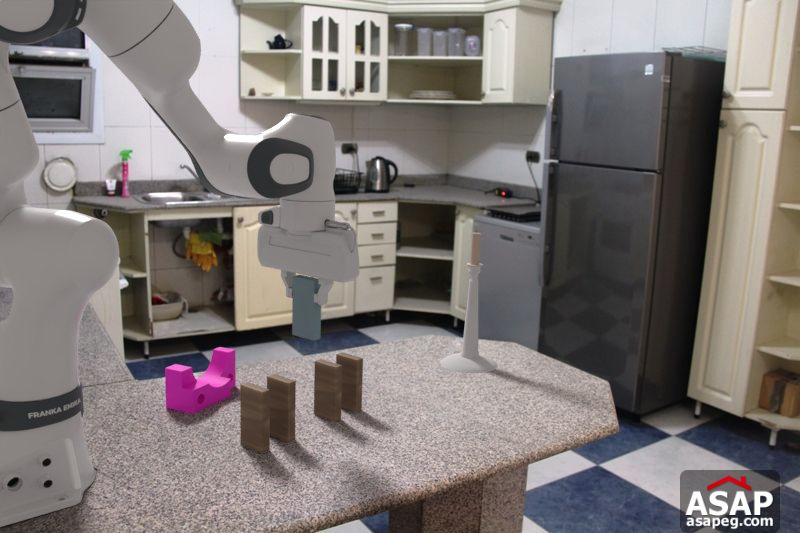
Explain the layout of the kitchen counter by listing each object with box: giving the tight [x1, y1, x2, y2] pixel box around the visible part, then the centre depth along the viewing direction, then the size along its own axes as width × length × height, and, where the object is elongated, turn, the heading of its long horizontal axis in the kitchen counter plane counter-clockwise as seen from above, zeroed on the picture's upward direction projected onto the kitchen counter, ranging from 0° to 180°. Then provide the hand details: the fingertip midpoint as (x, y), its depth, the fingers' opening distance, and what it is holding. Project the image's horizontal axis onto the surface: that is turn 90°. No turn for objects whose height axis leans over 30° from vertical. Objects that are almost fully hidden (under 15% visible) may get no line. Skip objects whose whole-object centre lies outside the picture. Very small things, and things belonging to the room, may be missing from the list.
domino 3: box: [291, 274, 322, 342], centre depth 119 cm, size 2×5×10 cm, turn 52°
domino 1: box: [239, 381, 270, 454], centre depth 114 cm, size 2×5×10 cm, turn 52°
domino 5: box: [335, 352, 364, 413], centre depth 131 cm, size 2×5×10 cm, turn 52°
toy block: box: [164, 346, 237, 415], centre depth 134 cm, size 15×6×8 cm, turn 155°
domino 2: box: [266, 373, 297, 443], centre depth 118 cm, size 2×5×10 cm, turn 52°
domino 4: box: [313, 358, 342, 423], centre depth 126 cm, size 2×5×10 cm, turn 52°
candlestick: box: [439, 230, 499, 374], centre depth 155 cm, size 13×13×30 cm
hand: (306, 300), depth 119 cm, fingers closed on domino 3, 5 cm apart
